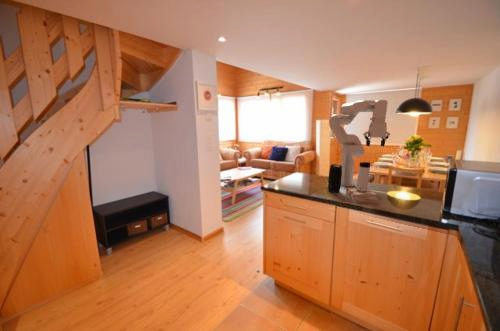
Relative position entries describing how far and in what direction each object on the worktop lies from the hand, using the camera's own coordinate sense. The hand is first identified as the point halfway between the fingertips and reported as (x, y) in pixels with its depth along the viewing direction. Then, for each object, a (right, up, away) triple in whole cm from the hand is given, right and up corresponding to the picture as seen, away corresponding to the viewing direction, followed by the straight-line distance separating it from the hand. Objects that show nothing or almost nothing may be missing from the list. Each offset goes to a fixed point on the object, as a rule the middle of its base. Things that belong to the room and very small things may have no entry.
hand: (375, 146), depth 150 cm
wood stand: (-9, -35, +1) cm, 36 cm away
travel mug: (-9, -30, 0) cm, 32 cm away
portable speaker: (-22, -32, +14) cm, 42 cm away
